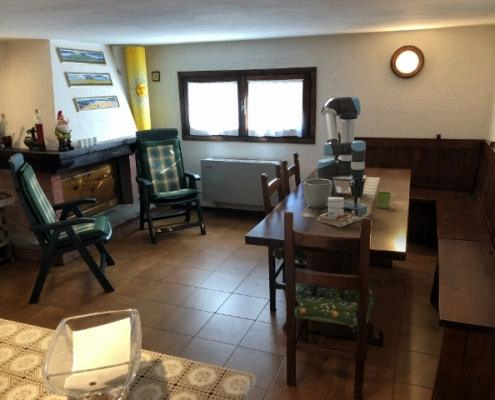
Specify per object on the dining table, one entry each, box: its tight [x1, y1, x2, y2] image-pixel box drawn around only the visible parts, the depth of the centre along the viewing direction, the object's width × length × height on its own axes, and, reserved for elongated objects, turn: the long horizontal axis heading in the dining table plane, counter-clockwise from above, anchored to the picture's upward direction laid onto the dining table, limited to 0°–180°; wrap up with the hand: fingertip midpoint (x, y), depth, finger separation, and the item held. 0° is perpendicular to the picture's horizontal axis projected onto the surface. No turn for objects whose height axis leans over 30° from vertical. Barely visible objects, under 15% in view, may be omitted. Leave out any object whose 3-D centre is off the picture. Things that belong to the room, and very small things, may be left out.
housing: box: [344, 200, 368, 216], centre depth 236 cm, size 8×15×4 cm, turn 41°
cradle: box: [316, 209, 371, 228], centre depth 232 cm, size 28×16×4 cm, turn 131°
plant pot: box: [375, 191, 393, 209], centre depth 248 cm, size 9×9×9 cm
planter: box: [303, 178, 332, 210], centre depth 253 cm, size 17×17×16 cm
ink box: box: [327, 196, 345, 220], centre depth 227 cm, size 9×5×12 cm, turn 76°
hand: (356, 208), depth 239 cm, fingers closed
